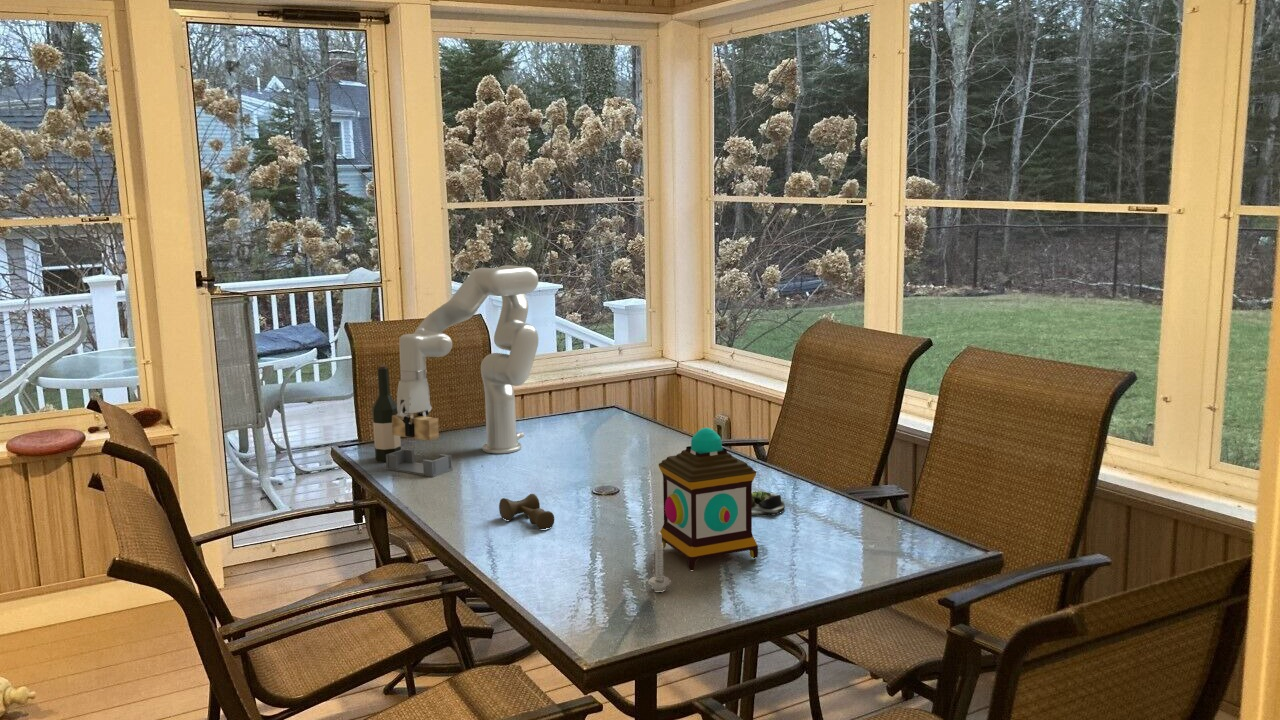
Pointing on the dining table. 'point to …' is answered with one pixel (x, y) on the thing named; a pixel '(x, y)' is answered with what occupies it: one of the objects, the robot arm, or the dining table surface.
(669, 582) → the screw
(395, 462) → the end-cap rail
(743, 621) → the dining table surface
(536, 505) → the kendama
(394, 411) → the wine bottle
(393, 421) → the slat
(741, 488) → the decorative lantern
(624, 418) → the dining table surface
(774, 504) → the salad plate
